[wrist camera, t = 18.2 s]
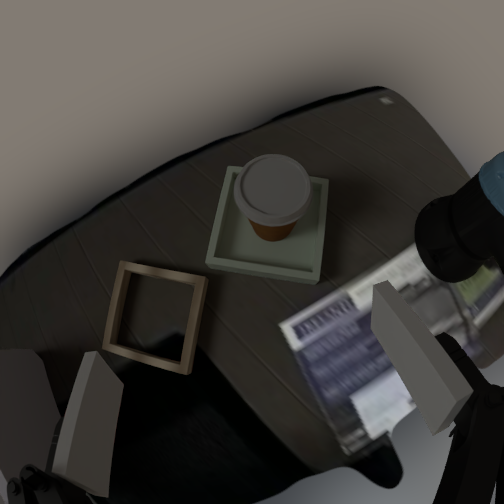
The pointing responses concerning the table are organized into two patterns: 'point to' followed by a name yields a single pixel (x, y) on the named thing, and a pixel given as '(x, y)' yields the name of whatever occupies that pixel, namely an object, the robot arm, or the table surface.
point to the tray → (264, 252)
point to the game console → (24, 414)
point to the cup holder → (118, 305)
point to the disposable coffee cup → (273, 195)
